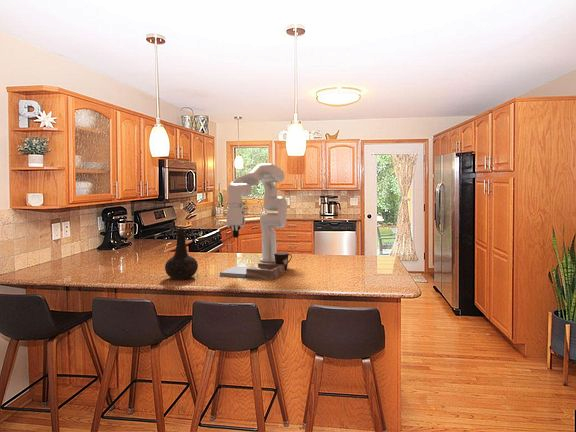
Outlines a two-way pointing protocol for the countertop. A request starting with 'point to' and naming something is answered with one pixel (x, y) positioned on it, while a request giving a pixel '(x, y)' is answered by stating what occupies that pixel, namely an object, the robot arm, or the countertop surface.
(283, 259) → the coffee mug
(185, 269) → the dark bulbous vase
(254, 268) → the cream tile
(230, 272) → the slate plate
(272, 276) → the box
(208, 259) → the countertop surface
